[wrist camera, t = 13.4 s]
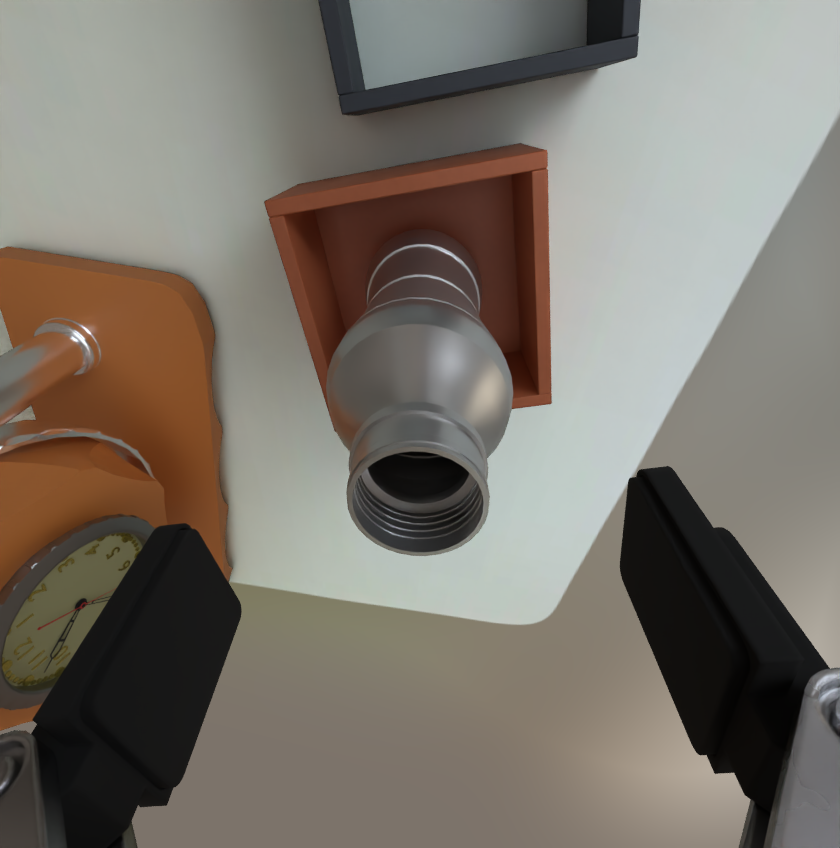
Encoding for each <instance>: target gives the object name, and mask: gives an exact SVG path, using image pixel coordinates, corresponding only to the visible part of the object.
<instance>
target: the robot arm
mask: <svg viewBox="0 0 840 848" xmlns="http://www.w3.org/2000/svg"><path fill="white" fill-rule="evenodd" d="M620 572H621V576H622V580H623V582H624V585H625V587H626V590H627V592H628V594H629V597H630V599H631V601H632V604H633V606H634V609H635V611H636V613H637V616H638V618H639V620H640V623H641V625H642V628H643V630H644V632H645V635H646V637H647V640H648V642H649V644H650V646H651V649H652V651H653V654H654V656H655V659H656V661H657V663H658V666H659V668H660V670H661V673H662V675H663V678H664V680H665V682H666V685H667V687H668V689H669V692H670V694H671V696H672V699H673V701H674V704H675V706H676V708H677V711H678V713H679V716H680V718H681V720H682V723H683V725H684V727H685V730H686V732H687V734H688V737H689V739H690V741H691V744H692V746H693V748H694V749H695V751H696V752H697V753H698V754H699V755H707V757H708V759H709V761H710V764H711V766H712V768H713V771H714V773H715V774H718V773H735V775H736V777H737V780H738V782H739V784H740V786H741V788H742V790H743V792H744V794H745V795H746V796H747V797H748V798H750V799H751V801H750V805H749V809H748V813H747V817H746V821H745V824H744V829H743V833H742V836H741V840H740V845H739V848H840V668H832V669H830V668H829V667H828V665H827V664H826V663H825V661H824V660H823V658H822V657H821V656H820V655H819V653H818V652H817V650H816V649H815V648H814V646H813V645H812V643H811V642H810V641H809V639H808V638H807V636H806V635H805V634H804V632H803V631H802V630H801V628H800V627H799V625H798V624H797V623H796V621H795V620H794V618H793V617H792V616H791V614H790V613H789V612H788V610H787V609H786V607H785V606H784V605H783V603H782V602H781V601H780V599H779V598H778V597H777V595H776V594H775V592H774V591H773V589H772V588H771V587H770V585H769V584H768V583H767V581H766V580H765V578H764V577H763V576H762V574H761V573H760V572H759V570H758V569H757V567H756V566H755V565H754V563H753V562H752V561H751V559H750V558H749V556H748V555H747V554H746V552H745V551H744V549H743V548H742V547H741V545H740V544H739V543H738V541H737V540H736V539H735V537H734V536H733V535H732V534H731V533H730V532H729V531H728V530H726V529H724V528H719V527H718V528H713V527H712V525H711V523H710V522H709V521H708V519H707V518H706V516H705V515H704V513H703V512H702V510H701V509H700V508H699V506H698V505H697V503H696V502H695V501H694V499H693V497H692V496H691V495H690V493H689V492H688V490H687V489H686V487H685V486H684V485H683V483H682V481H681V480H680V479H679V477H678V476H677V474H676V473H675V471H674V470H673V469H672V468H671V467H669V466H666V467H658V468H649V469H641V470H639V471H638V473H637V476H636V477H634V478H630V479H629V481H628V489H627V500H626V510H625V520H624V528H623V539H622V548H621V558H620ZM240 618H241V604H240V601H239V600H238V598H237V596H236V595H235V593H234V591H233V589H232V588H231V586H230V584H229V583H228V581H227V579H226V578H225V576H224V574H223V572H222V571H221V569H220V567H219V566H218V564H217V562H216V561H215V559H214V557H213V556H212V554H211V552H210V550H209V549H208V547H207V545H206V544H205V542H204V540H203V539H202V537H201V535H200V534H199V532H198V531H197V530H196V529H192V528H191V527H190V525H188V524H186V523H180V524H172V525H163V526H159V527H157V528H156V529H155V530H154V531H153V532H152V534H151V535H150V537H149V538H148V540H147V541H146V543H145V545H144V546H143V548H142V549H141V551H140V552H139V554H138V555H137V557H136V559H135V560H134V562H133V563H132V565H131V566H130V568H129V570H128V571H127V573H126V574H125V576H124V577H123V579H122V580H121V582H120V584H119V585H118V587H117V588H116V590H115V591H114V593H113V594H112V596H111V598H110V599H109V601H108V602H107V604H106V605H105V607H104V608H103V610H102V612H101V613H100V615H99V616H98V618H97V619H96V621H95V623H94V624H93V626H92V627H91V629H90V630H89V632H88V633H87V635H86V637H85V638H84V640H83V641H82V643H81V644H80V646H79V647H78V649H77V651H76V652H75V654H74V655H73V657H72V658H71V660H70V661H69V663H68V665H67V666H66V668H65V669H64V671H63V672H62V674H61V676H60V677H59V679H58V680H57V682H56V683H55V685H54V686H53V688H52V690H51V691H50V693H49V694H48V696H47V697H46V699H45V700H44V702H43V704H42V705H41V707H40V708H39V710H38V711H37V713H36V714H35V716H34V718H33V719H32V720H33V721H34V722H36V723H37V725H36V727H35V729H34V730H33V732H32V733H31V734H30V733H28V732H27V731H15V730H14V731H11V732H8V733H4V734H1V735H0V848H137V843H136V839H135V834H134V830H133V826H132V818H133V816H134V813H135V811H136V808H137V806H138V805H139V806H140V807H148V806H164V805H165V806H166V805H167V803H168V801H169V798H170V795H171V792H172V790H173V787H176V786H177V785H178V784H179V783H180V781H181V780H182V778H183V775H184V773H185V771H186V768H187V765H188V762H189V759H190V757H191V754H192V751H193V749H194V746H195V743H196V740H197V737H198V734H199V732H200V729H201V726H202V723H203V721H204V718H205V715H206V712H207V709H208V707H209V704H210V701H211V699H212V696H213V693H214V690H215V687H216V685H217V682H218V679H219V676H220V674H221V671H222V668H223V665H224V662H225V660H226V657H227V654H228V651H229V649H230V646H231V643H232V640H233V637H234V635H235V632H236V629H237V626H238V623H239V621H240Z"/></svg>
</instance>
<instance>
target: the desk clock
mask: <svg viewBox="0 0 840 848" xmlns="http://www.w3.org/2000/svg"><path fill="white" fill-rule="evenodd" d="M0 309H1V312H2V315H3V318H4V322H5V325H6V328H7V331H8V334H9V337H10V340H11V343H12V346H13V349H11V350H9V351H8V352H6V353H4V354H2V355H0V731H1V730H4V729H7V728H10V727H13V726H16V725H19V724H22V723H26V722H30V721H33V720H32V719H33V718H34V716H35V714H36V713H37V711H38V710H39V708H40V707H41V705H42V704H43V702H44V700H45V699H46V697H47V696H48V694H49V693H50V691H51V690H52V688H53V686H54V685H55V683H56V682H57V680H58V679H59V677H60V676H61V674H62V672H63V671H64V669H65V668H66V666H67V665H68V663H69V661H70V660H71V658H72V657H73V655H74V654H75V652H76V651H77V649H78V647H79V646H80V644H81V643H82V641H83V640H84V638H85V637H86V635H87V633H88V632H89V630H90V629H91V627H92V626H93V624H94V623H95V621H96V619H97V618H98V616H99V615H100V613H101V612H102V610H103V608H104V607H105V605H106V604H107V602H108V601H109V599H110V598H111V596H112V594H113V593H114V591H115V590H116V588H117V587H118V585H119V584H120V582H121V580H122V579H123V577H124V576H125V574H126V573H127V571H128V570H129V568H130V566H131V565H132V563H133V562H134V560H135V559H136V557H137V555H138V554H139V552H140V551H141V549H142V548H143V546H144V545H145V543H146V541H147V540H148V538H149V537H150V535H151V534H152V532H153V531H154V530H155V529H156V528H157V527H159V526H163V525H172V524H180V523H186V524H188V525H190V527H191V528H192V529H196V530H197V531H198V532H199V534H200V535H201V537H202V539H203V540H204V542H205V544H206V545H207V547H208V549H209V550H210V552H211V554H212V556H213V557H214V559H215V561H216V562H217V564H218V566H219V567H220V569H221V571H222V572H223V574H224V576H225V578H226V579H227V581H228V582H229V579H230V575H231V572H232V568H231V567H229V565H228V563H227V559H226V552H225V530H226V520H227V514H228V505H227V504H226V503H225V502H224V500H223V497H222V494H221V489H220V480H219V456H220V446H221V439H222V426H221V425H220V423H219V422H218V419H217V417H216V413H215V409H214V404H213V396H212V381H211V376H212V355H213V346H214V340H215V332H214V329H213V326H212V323H211V320H210V317H209V314H208V310H207V307H206V304H205V302H204V300H203V299H202V297H201V296H200V294H199V293H198V291H197V290H196V288H195V287H194V285H193V284H192V283H191V282H189V281H187V280H185V279H184V278H182V277H180V276H178V275H175V274H171V273H167V272H162V271H156V270H150V269H144V268H138V267H132V266H125V265H119V264H113V263H107V262H101V261H94V260H88V259H82V258H76V257H70V256H64V255H57V254H51V253H45V252H39V251H33V250H27V249H20V248H14V247H5V248H1V249H0ZM31 405H32V408H33V411H34V414H35V417H36V420H23V421H18V422H12V423H7V422H8V421H10V420H11V419H13V418H14V417H15V416H17V415H18V414H19V413H21V412H22V411H24V410H25V409H26V408H28V407H29V406H31ZM6 423H7V424H6Z"/></svg>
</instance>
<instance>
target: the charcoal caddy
mask: <svg viewBox="0 0 840 848" xmlns="http://www.w3.org/2000/svg"><path fill="white" fill-rule="evenodd" d="M318 1H319V6H320V11H321V16H322V21H323V25H324V30H325V35H326V40H327V44H328V49H329V54H330V59H331V63H332V68H333V73H334V78H335V83H336V87H337V92H338V95H340V96H339V102H340V106H341V111H342V114H343V115H362V114H367V113H372V112H377V111H383V110H388V109H393V108H398V107H403V106H408V105H413V104H418V103H423V102H428V101H434V100H439V99H444V98H449V97H454V96H459V95H464V94H469V93H474V92H479V91H485V90H490V89H495V88H500V87H505V86H510V85H515V84H520V83H525V82H530V81H536V80H541V79H546V78H551V77H556V76H561V75H566V74H571V73H576V72H581V71H587V70H592V69H597V68H601V67H604V66H608V65H611V64H614V63H618V62H621V61H625V60H628V59H631V58H635V57H637V52H638V36H637V35H638V33H639V19H640V4H641V0H588V12H587V46H583V47H578V48H573V49H568V50H563V51H558V52H553V53H548V54H543V55H538V56H533V57H528V58H523V59H518V60H513V61H508V62H503V63H498V64H493V65H488V66H483V67H478V68H473V69H468V70H463V71H458V72H453V73H448V74H443V75H438V76H433V77H428V78H424V79H419V80H414V81H409V82H404V83H399V84H394V85H389V86H384V87H379V88H374V89H369V90H365V86H364V80H363V75H362V69H361V64H360V58H359V53H358V47H357V42H356V37H355V31H354V26H353V20H352V15H351V9H350V4H349V0H318Z"/></svg>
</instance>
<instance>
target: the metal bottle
mask: <svg viewBox="0 0 840 848" xmlns="http://www.w3.org/2000/svg"><path fill="white" fill-rule="evenodd" d="M365 290H366V304H367V309H366V311H365V313H364V314H363V315H362V316H361V317H360V318H359V319H358V320H357V322H356V323H355V324H354V325H353V326H352V327H351V328H350V329H349V330H348V331H347V332H346V334H345V336H344V337H343V339H342V341H341V342H340V344H339V346H338V347H337V349H336V351H335V352H334V354H333V356H332V359H331V362H330V365H329V368H328V372H327V383H326V391H327V398H328V405H329V411H330V416H331V419H332V422H333V425H334V428H335V430H336V433H337V434H338V436H339V438H340V439H341V441H342V442H343V444H344V446H345V447H346V448H347V449H348V450H349V451H350V457H349V471H350V475H349V479H348V485H347V492H346V493H347V504H348V510H349V513H350V515H351V518H352V520H353V521H354V523H355V524H356V526H357V528H358V529H359V530H360V531H361V532H362V533H363V534H364V535H365V536H366V537H367V538H369V539H370V540H371V541H373V542H374V543H376V544H377V545H379V546H382V547H384V548H386V549H388V550H391V551H394V552H397V553H401V554H407V555H413V556H428V555H437V554H441V553H445V552H449V551H452V550H454V549H456V548H458V547H461V546H462V545H464V544H465V543H467V542H468V541H470V540H471V539H472V538H473V537H474V536H475V535H476V534H477V533H478V532H479V531H480V529H481V528H482V526H483V525H484V523H485V520H486V517H487V515H488V508H489V498H490V496H489V490H488V484H487V476H488V463H487V458H488V457H489V456H490V455H491V454H492V453H493V451H494V450H495V449H496V448H497V446H498V444H499V443H500V441H501V439H502V438H503V435H504V433H505V430H506V427H507V424H508V421H509V417H510V413H511V410H512V401H513V385H512V376H511V373H510V371H509V368H508V365H507V362H506V359H505V357H504V355H503V353H502V351H501V349H500V347H499V346H498V344H497V343H496V341H495V339H494V338H493V336H492V335H491V334H490V332H489V331H488V329H487V328H486V327H485V325H484V324H483V323H482V321H481V320H480V317H479V313H480V309H481V302H482V282H481V276H480V273H479V270H478V267H477V265H476V263H475V261H474V259H473V258H472V256H471V254H470V253H469V252H468V251H467V250H466V249H465V247H464V246H463V245H461V244H460V243H459V242H458V241H456V240H455V239H454V238H452V237H450V236H448V235H446V234H444V233H442V232H438V231H434V230H430V229H416V230H410V231H406V232H403V233H401V234H398V235H396V236H394V237H393V238H391V239H390V240H388V241H387V242H386V243H384V244H383V246H382V247H381V248H380V249H379V250H378V251H377V252H376V254H375V256H374V257H373V259H372V261H371V263H370V265H369V268H368V271H367V276H366V284H365Z"/></svg>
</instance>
